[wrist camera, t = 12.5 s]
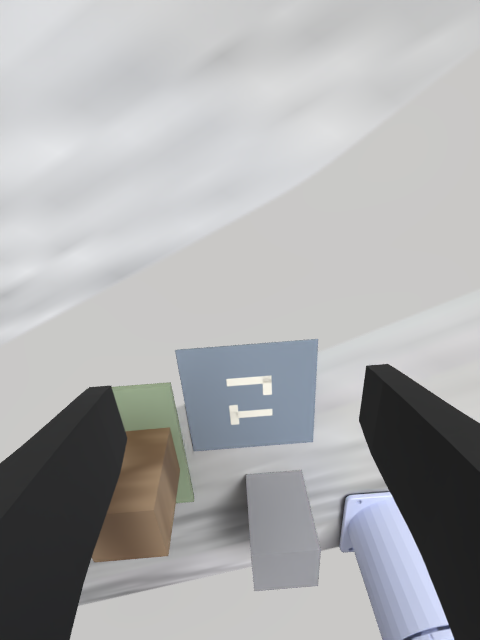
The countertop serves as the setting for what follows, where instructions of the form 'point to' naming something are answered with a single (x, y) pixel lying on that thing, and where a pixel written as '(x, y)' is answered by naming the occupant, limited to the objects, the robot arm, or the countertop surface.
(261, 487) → the grey block
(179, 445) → the rubber mat
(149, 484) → the walnut block
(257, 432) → the blue card
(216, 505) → the countertop surface
